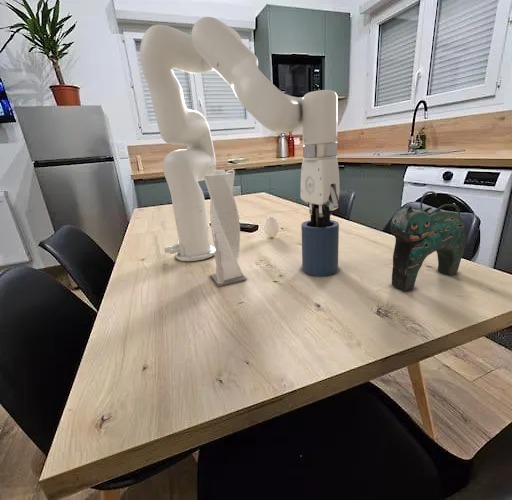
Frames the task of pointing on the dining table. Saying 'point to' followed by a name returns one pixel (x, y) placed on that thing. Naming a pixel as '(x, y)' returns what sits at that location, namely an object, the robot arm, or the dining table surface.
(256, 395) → the dining table surface
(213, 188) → the skyscraper
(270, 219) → the egg
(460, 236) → the ceramic cat
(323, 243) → the blue pipe segment
